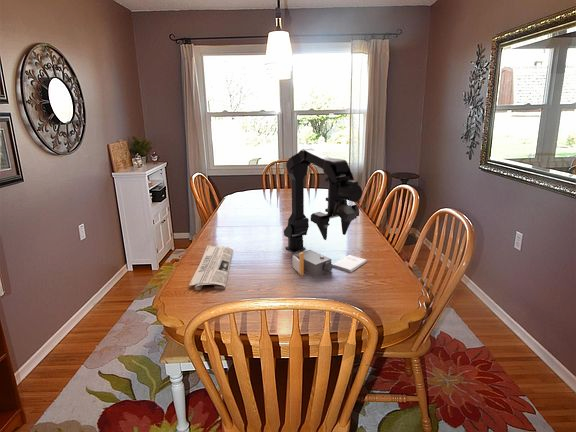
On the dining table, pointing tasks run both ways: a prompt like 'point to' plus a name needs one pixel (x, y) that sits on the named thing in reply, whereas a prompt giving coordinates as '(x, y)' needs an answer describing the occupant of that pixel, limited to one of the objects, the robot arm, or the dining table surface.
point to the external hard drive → (349, 263)
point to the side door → (298, 263)
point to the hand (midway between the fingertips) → (334, 237)
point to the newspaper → (213, 267)
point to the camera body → (316, 263)
